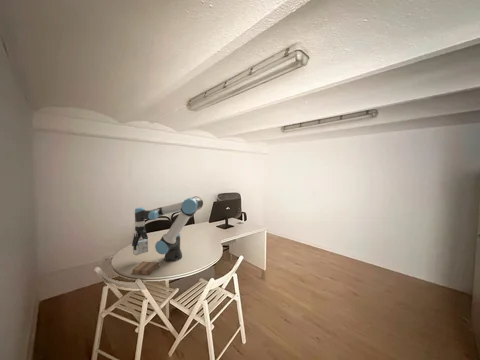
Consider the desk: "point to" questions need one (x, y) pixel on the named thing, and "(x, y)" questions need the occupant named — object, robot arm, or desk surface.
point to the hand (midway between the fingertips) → (140, 250)
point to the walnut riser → (145, 268)
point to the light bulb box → (142, 246)
